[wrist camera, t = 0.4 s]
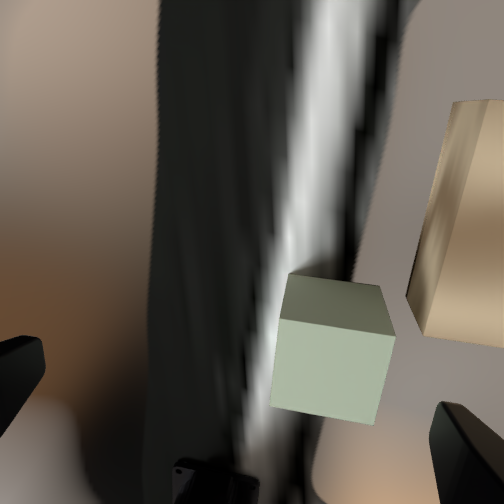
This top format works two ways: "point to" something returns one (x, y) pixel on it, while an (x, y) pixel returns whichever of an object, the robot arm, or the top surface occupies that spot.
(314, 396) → the sage cube
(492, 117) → the oak block
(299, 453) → the top surface
